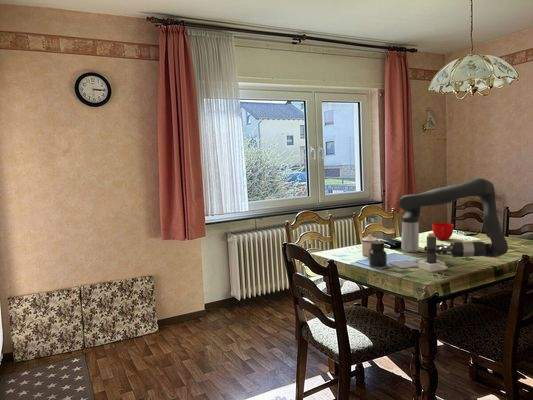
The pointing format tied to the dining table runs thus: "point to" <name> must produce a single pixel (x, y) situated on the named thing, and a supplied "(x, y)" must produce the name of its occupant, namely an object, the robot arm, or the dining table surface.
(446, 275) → the dining table surface
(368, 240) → the teacup with lid
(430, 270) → the square ring with handle
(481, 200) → the robot arm
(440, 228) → the ceramic cup
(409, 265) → the grey felt mat
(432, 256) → the black cable stub
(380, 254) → the ink bottle
